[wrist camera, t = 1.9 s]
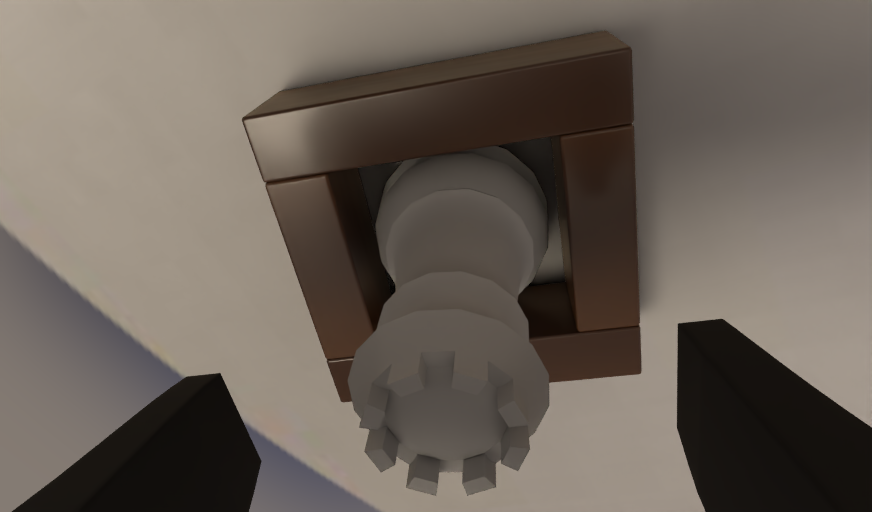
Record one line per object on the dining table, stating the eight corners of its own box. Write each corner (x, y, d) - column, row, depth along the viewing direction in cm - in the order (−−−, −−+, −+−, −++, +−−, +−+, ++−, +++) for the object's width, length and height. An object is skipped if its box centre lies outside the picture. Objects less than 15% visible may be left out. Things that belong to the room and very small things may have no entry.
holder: (621, 318, 17) (642, 375, 14) (358, 347, 18) (340, 403, 16) (607, 29, 13) (632, 46, 11) (277, 91, 14) (239, 118, 12)
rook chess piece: (410, 298, 17) (356, 551, 10) (357, 158, 15) (242, 348, 8) (562, 265, 16) (622, 517, 9) (525, 111, 14) (567, 278, 7)
